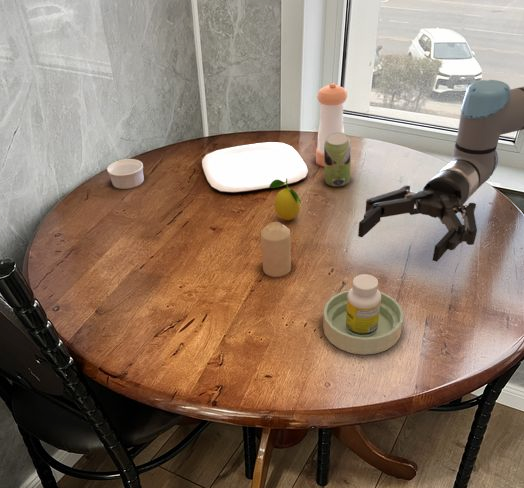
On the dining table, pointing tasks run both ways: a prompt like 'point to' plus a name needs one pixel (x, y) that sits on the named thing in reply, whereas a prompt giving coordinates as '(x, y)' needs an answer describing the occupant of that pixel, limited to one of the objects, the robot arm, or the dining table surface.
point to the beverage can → (337, 159)
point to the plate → (253, 167)
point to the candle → (276, 249)
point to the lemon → (286, 201)
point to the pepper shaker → (329, 116)
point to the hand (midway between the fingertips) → (396, 241)
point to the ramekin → (126, 173)
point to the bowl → (372, 344)
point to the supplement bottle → (363, 306)
